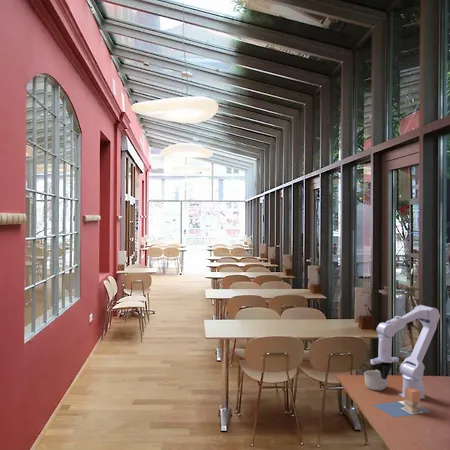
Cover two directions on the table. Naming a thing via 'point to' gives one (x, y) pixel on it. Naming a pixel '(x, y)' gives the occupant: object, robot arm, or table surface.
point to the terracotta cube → (412, 394)
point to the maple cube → (412, 406)
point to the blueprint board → (398, 409)
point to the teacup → (375, 380)
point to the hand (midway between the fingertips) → (383, 378)
